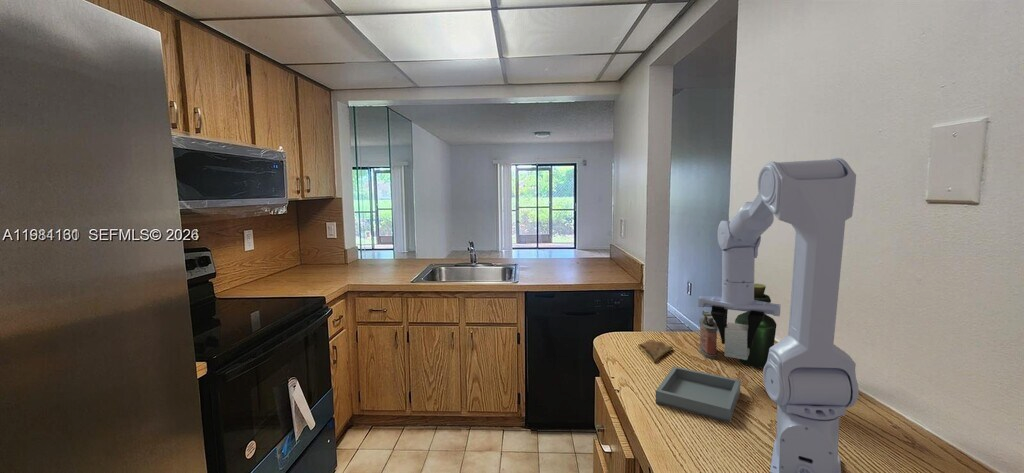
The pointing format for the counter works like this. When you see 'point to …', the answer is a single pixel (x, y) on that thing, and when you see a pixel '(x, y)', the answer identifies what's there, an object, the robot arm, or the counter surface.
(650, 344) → the shard
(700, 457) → the counter surface
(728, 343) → the aluminium block
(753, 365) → the potion bottle
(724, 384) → the tray
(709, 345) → the lighter
